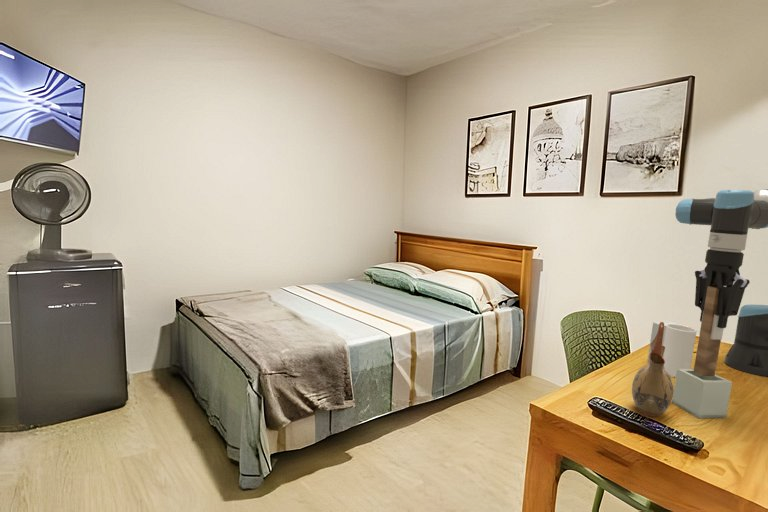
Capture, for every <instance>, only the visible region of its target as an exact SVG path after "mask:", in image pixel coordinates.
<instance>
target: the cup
mask: <svg viewBox="0 0 768 512" xmlns="http://www.w3.org/2000/svg"><path fill="white" fill-rule="evenodd" d="M696 336H697V328H694V327H692V326H687V325H684V324H680V325H679V323H677V324H667V325H666V331H665V338H664V344H663V346H664V347H665V351H664V355H663V358H664V360H665V364H664V369H665V371H666V372H667V373H668V374H669V376H670V377H673V378H676V374H677V369H692V363H693V362H692V361H693V355H694V349H695V345H696V344H695V343H696V338H697V337H696Z"/></svg>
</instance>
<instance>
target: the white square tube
mask: <svg viewBox="0 0 768 512" xmlns="http://www.w3.org/2000/svg"><path fill="white" fill-rule="evenodd" d="M693 371H694V368H691V369H677V374H676V377H675V380H674V381H675V382H674V385H673V397H672V401H671V403H672V404H674V405H675V406H677V407H679V408H680V409H682V410H684V411H685V412H687V413H689V414H690V415H692V416H693V417H695V418H697V419H725V418H727V415H728V414H727V413H728V408H729V402H730V397H731V392H732V387H733V382H732V381H730V380H729V379H726V378H724V377H722V376H720V375H718V374H716V373H715V376H700V375H698V374H696V373H694V372H693Z"/></svg>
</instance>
